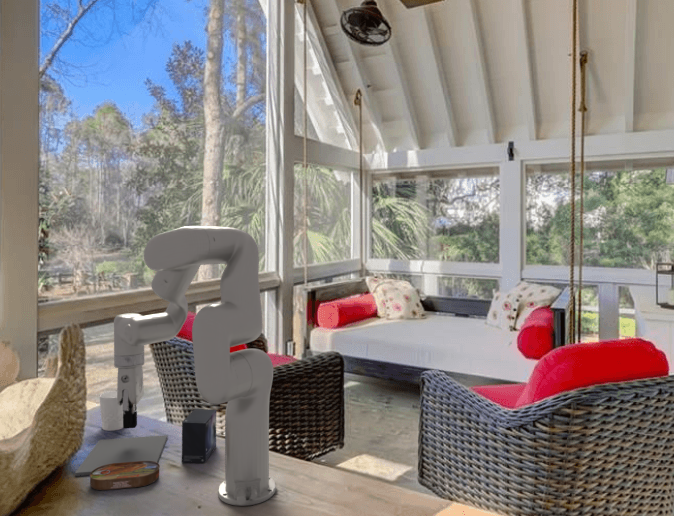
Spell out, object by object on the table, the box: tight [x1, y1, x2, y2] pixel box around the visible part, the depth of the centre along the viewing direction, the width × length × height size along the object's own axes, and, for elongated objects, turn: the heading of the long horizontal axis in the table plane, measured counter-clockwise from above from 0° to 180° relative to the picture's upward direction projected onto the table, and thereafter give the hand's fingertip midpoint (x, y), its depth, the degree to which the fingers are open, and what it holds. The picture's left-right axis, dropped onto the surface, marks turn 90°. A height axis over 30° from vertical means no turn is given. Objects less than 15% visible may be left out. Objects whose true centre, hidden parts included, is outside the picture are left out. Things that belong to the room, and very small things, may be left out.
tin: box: [89, 461, 161, 491], centre depth 113 cm, size 15×3×8 cm
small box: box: [181, 408, 217, 464], centre depth 128 cm, size 11×6×10 cm, turn 179°
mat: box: [74, 434, 169, 477], centre depth 127 cm, size 20×18×1 cm
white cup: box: [99, 390, 124, 432], centre depth 147 cm, size 8×8×10 cm
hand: (130, 427), depth 132 cm, fingers closed
